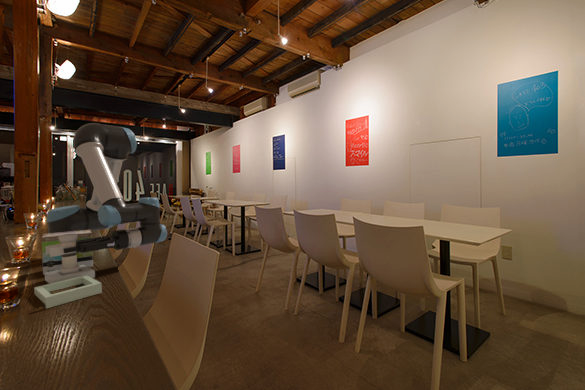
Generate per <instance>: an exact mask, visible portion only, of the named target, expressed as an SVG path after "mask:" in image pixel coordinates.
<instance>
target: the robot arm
mask: <svg viewBox="0 0 585 390" xmlns="http://www.w3.org/2000/svg"><path fill="white" fill-rule="evenodd" d="M72 139H73V141H72V146H73V149H74V151H75V154H76V155H77V156H78V157H80V159H81V160H82V163H83V165H84V167H85V169H86V172H87V174H88V177H89V179H90V181H91V183H92V186H93V191H92V195H91V199H89V200H88V201H87V202H86V203H85V204H86V205H85V207H80V205H78V204H77V205H76V204H74V205H68V206H67V205H66V206H62V207H61V206H60V207H56V208H53V209H49V210H48V211H47V214H46V224H47V234H48V233H59V232H70V231H82V230H90V231H91V232H94V231H95V232H96V231H104V230H107V229H111V228H113V227H114V226H118V225H124V224H131V223H132V224H133V223H137V222H139V227H130V228H125V229H117V230H114V231H113V232H112V233H111V236H108V235H103V236H96V237H92V238H90V239H83V240H77V241H76V247H75V244H74V245H67V246H61V244H58V245H51V246H46V255H48V254H50V257H53V256H59V255H64V254H70V253H76V252H78V253H79V252H80V253H84V252H90V251H93V252H95V251H100V250H106V249H107V250H108V249H114V250H115V251H121V250H125V249H129V248H132V249H136V247H139V246H145V245H147V246H148V245H151V244H157V243H160V242H164V241H165V240H166V239H167V237H168V230H167V226H165V224H161V221H160V218H161V217H160V210H161V209H160V208H161V207H160V201H159V198H157V197H154V196H153V197H152V196H151V197H140V198H138V202H135V203H133V202H132V203H126V201H125V200H124V196H123V195H122V193H121V189H120V188H119V185H118V180H119V177H120V174H121V169H122V165H123V162H124V161H126V160H128V157H129V154H134V153H135V152H136V150H137V147H138V145H137V144H138V143H137V138H136V135H135V133H134V132H133V131H132V130H131V129H130V128H127V127H122V126H119V125H111V124H110V125H109V124H102V123H97V122H90V123H85V124H84V125H82V126H80V127H79V128H78V129H77V130H76V132H75V133H74V135H73V138H72ZM75 251H76V252H75Z"/></svg>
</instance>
